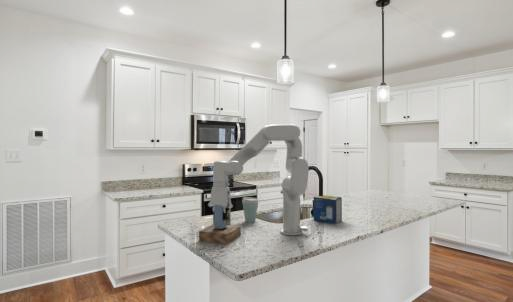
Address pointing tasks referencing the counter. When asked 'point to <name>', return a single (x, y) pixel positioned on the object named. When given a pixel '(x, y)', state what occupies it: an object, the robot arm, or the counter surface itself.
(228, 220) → the coffee box
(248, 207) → the disposable coffee cup
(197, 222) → the counter surface
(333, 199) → the protein box
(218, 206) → the peg
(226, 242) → the socket block
